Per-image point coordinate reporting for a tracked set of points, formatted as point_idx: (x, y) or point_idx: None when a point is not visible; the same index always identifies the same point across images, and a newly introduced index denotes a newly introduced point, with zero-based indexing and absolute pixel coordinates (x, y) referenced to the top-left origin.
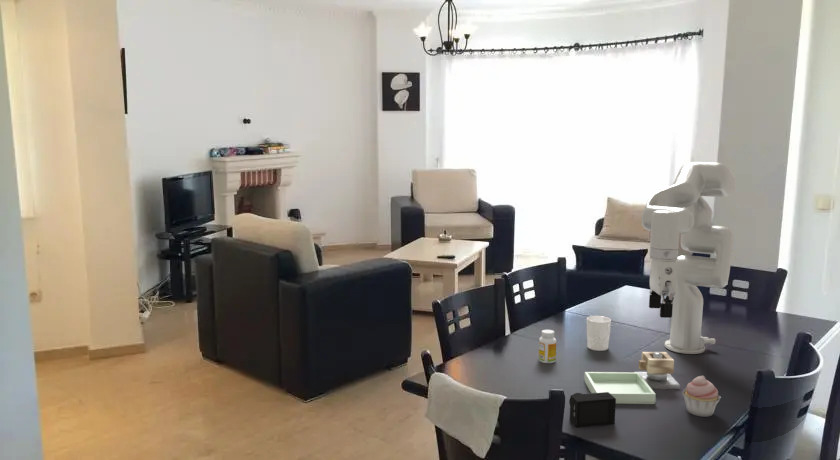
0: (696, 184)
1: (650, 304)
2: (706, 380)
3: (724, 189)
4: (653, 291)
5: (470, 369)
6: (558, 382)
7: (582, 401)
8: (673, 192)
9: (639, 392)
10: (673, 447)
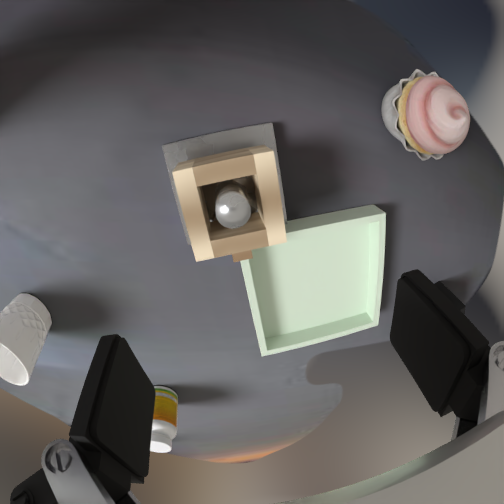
0: None
1: (152, 411)
2: (450, 104)
3: None
4: (112, 498)
5: (243, 450)
6: (274, 374)
7: None
8: None
9: (326, 236)
10: (496, 204)
